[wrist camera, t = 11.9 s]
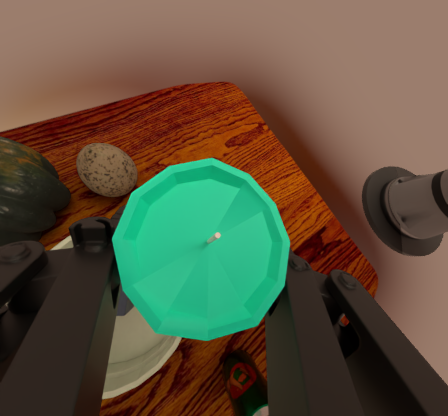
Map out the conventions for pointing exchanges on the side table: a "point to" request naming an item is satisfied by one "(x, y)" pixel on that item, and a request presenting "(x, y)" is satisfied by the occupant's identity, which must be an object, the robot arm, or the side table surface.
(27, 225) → the squash
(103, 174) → the decorative egg
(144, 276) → the candle
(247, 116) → the side table surface
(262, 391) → the soda can
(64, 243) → the bowl
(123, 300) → the block
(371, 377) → the robot arm
